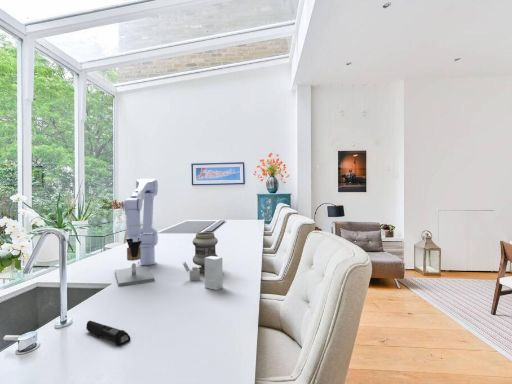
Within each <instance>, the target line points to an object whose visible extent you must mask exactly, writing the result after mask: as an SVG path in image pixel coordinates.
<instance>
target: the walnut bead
mask: <svg viewBox="0 0 512 384" xmlns="http://www.w3.org/2000/svg"><path fill="white" fill-rule="evenodd" d="M126 259H127V261H128V262H129V261H131V262H134V261H140V259H141V248H140V247H139V250H138V255H137V257H132V256H131V250H130V247H129V246H128V247H126Z"/></svg>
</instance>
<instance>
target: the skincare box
mask: <svg viewBox="0 0 512 384" xmlns="http://www.w3.org/2000/svg"><path fill="white" fill-rule="evenodd" d="M223 273H224V272H223V257H222V256H218V257H215V256H209V257H206V258H205V274H204V288H205V289H210V290H215V291H217V290H220V289H221V288H223V286H224V285H223V284H224V281H223V280H224V279H223V275H224V274H223Z"/></svg>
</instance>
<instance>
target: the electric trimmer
mask: <svg viewBox="0 0 512 384" xmlns="http://www.w3.org/2000/svg"><path fill="white" fill-rule="evenodd" d="M86 330H87V331H88V332H89V333H91V334H92V335H94V336H95V337H97V338H104V339H106V340H107V339H108V340H109V341H112V342H114V343H115V344H116V346H117V347H121V346H124V345H126V344H128V343H130V342H131V339H132V338H131V336H130V335H129V333H128V332H127V331H126V330H124V329H119V328H116V327H112V326H109V325H106V324H102V323H99V322H96V321H93V320H88V321H87V322H86Z"/></svg>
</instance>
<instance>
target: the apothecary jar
mask: <svg viewBox="0 0 512 384" xmlns="http://www.w3.org/2000/svg"><path fill="white" fill-rule="evenodd" d="M215 236H216V235H215V233H214V232H213V231H201V232H196V235H195V238H193V240H192V244H193V246H194V249H195V250H194V251H195V252H194V256H192V262H193V263H194V264H195V265H197V266H199V267H197V268H198V269H200V275H201V274H203V275H205V258H206V257H209V256H215V257H219V256H218V254H217V252H216V245H217V244H218V238H217V237H215Z"/></svg>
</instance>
